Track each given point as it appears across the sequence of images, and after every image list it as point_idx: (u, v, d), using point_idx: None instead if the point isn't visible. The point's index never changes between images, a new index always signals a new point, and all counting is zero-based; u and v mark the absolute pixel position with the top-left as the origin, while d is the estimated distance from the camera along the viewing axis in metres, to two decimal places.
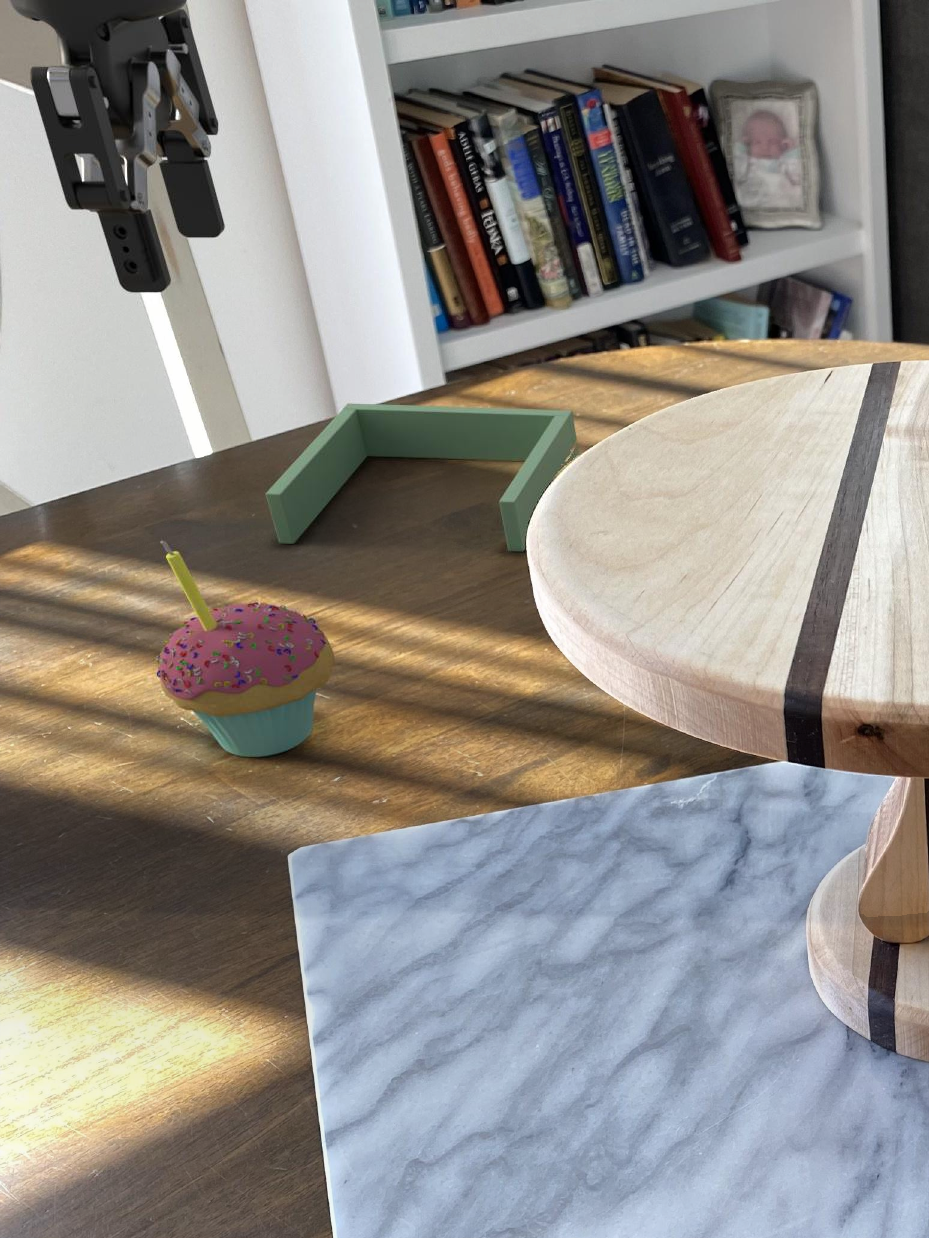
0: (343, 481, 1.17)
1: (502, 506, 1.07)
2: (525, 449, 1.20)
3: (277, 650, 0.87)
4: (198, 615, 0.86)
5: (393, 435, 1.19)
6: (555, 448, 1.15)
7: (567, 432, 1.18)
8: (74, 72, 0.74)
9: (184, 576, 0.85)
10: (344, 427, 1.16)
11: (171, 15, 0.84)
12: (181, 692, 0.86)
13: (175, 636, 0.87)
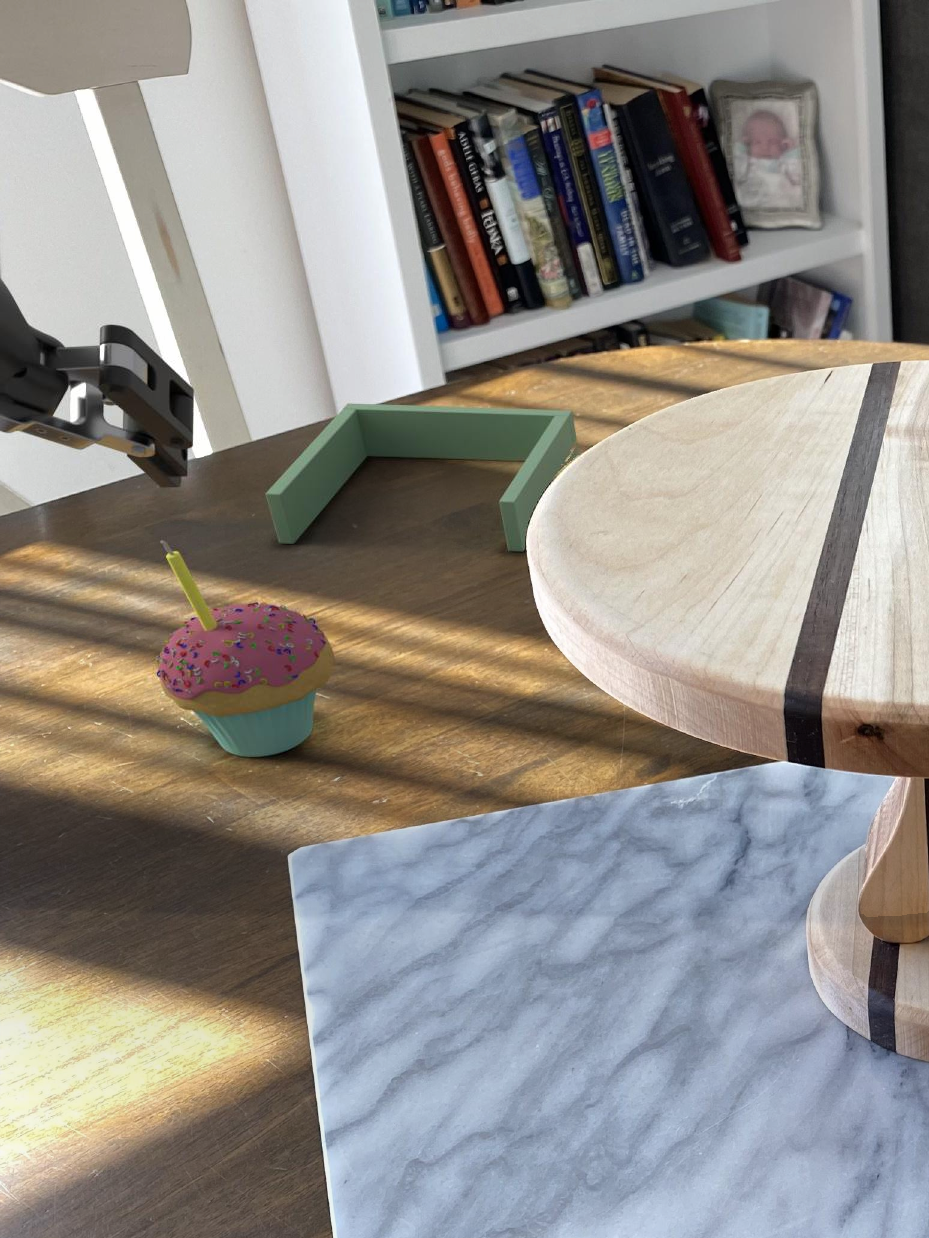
0: (343, 481, 1.17)
1: (502, 506, 1.07)
2: (525, 449, 1.20)
3: (277, 650, 0.87)
4: (198, 615, 0.86)
5: (393, 435, 1.19)
6: (555, 448, 1.15)
7: (567, 432, 1.18)
8: None
9: (184, 576, 0.85)
10: (344, 427, 1.16)
11: (99, 376, 0.64)
12: (181, 692, 0.86)
13: (175, 636, 0.87)
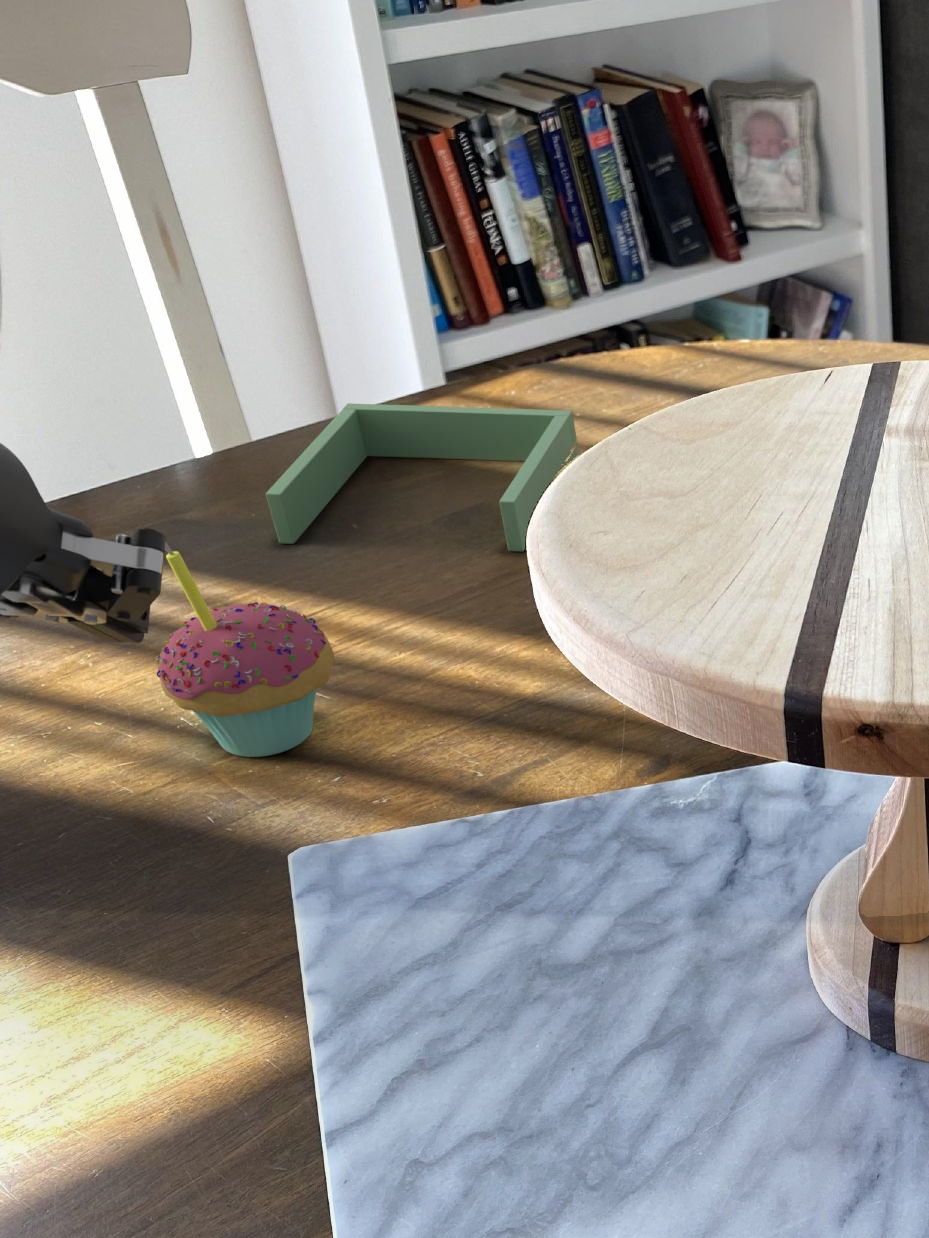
0: (343, 481, 1.17)
1: (502, 506, 1.07)
2: (525, 449, 1.20)
3: (277, 650, 0.87)
4: (198, 615, 0.86)
5: (393, 435, 1.19)
6: (555, 448, 1.15)
7: (567, 432, 1.18)
8: None
9: (184, 576, 0.85)
10: (344, 427, 1.16)
11: (135, 576, 0.68)
12: (181, 692, 0.86)
13: (175, 636, 0.87)
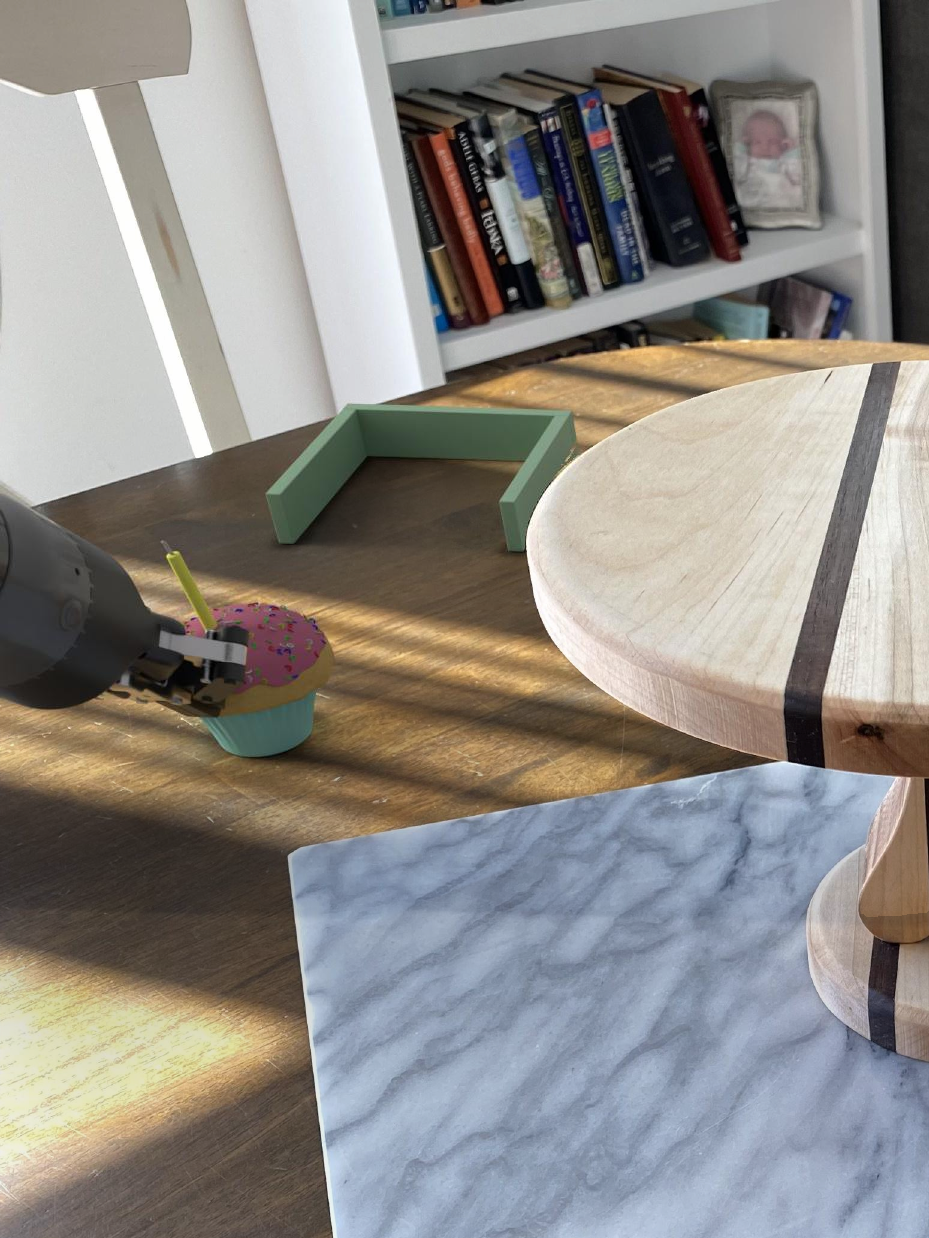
0: (343, 481, 1.17)
1: (502, 506, 1.07)
2: (525, 449, 1.20)
3: (278, 650, 0.87)
4: (198, 615, 0.86)
5: (393, 435, 1.19)
6: (555, 448, 1.15)
7: (567, 432, 1.18)
8: None
9: (184, 576, 0.85)
10: (344, 427, 1.16)
11: (222, 669, 0.76)
12: None
13: None
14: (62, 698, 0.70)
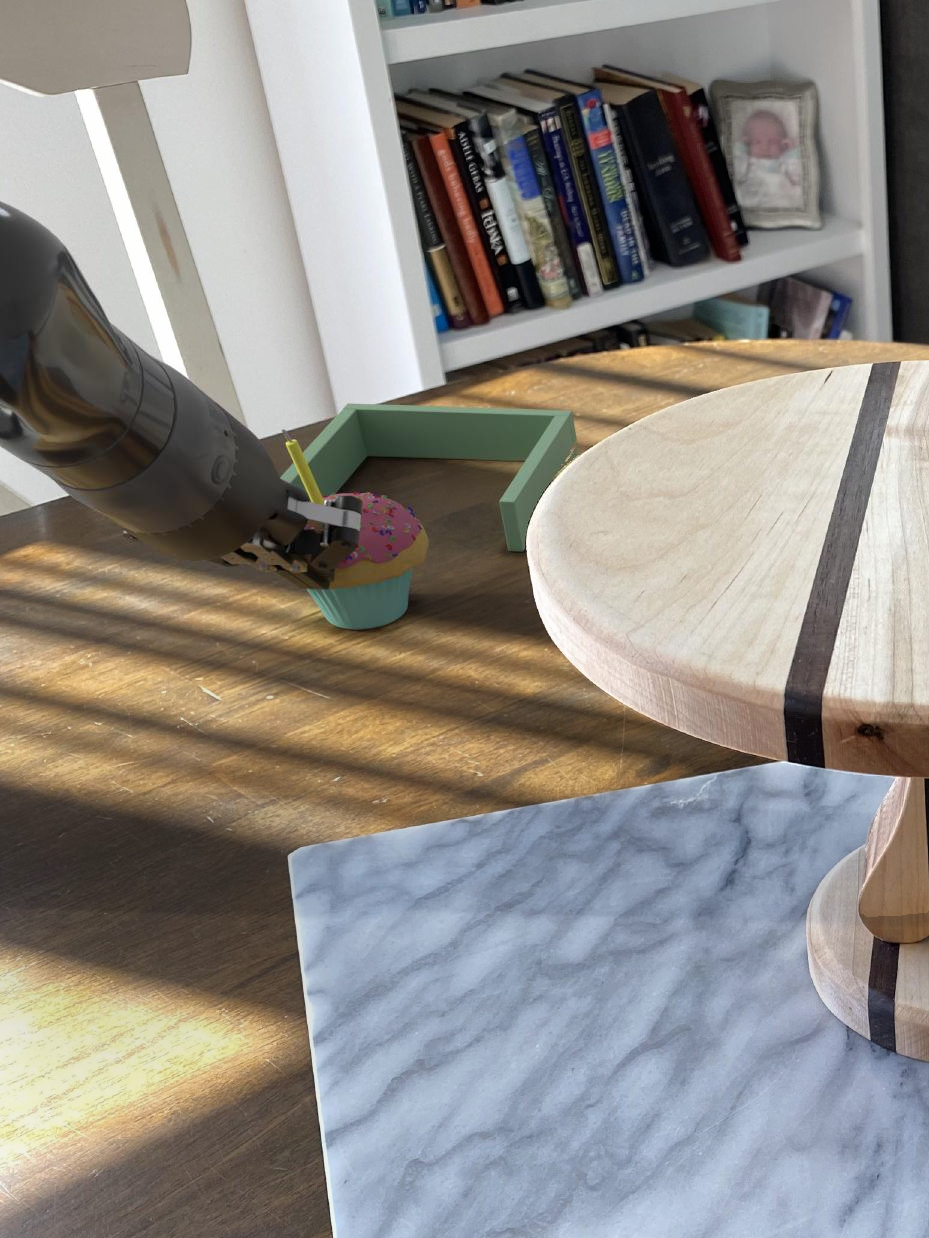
0: (343, 481, 1.17)
1: (502, 506, 1.07)
2: (525, 449, 1.20)
3: (380, 531, 0.98)
4: (311, 498, 0.97)
5: (393, 435, 1.19)
6: (555, 448, 1.15)
7: (567, 432, 1.18)
8: None
9: (300, 462, 0.95)
10: (344, 427, 1.16)
11: (340, 533, 0.87)
12: None
13: None
14: (207, 548, 0.81)
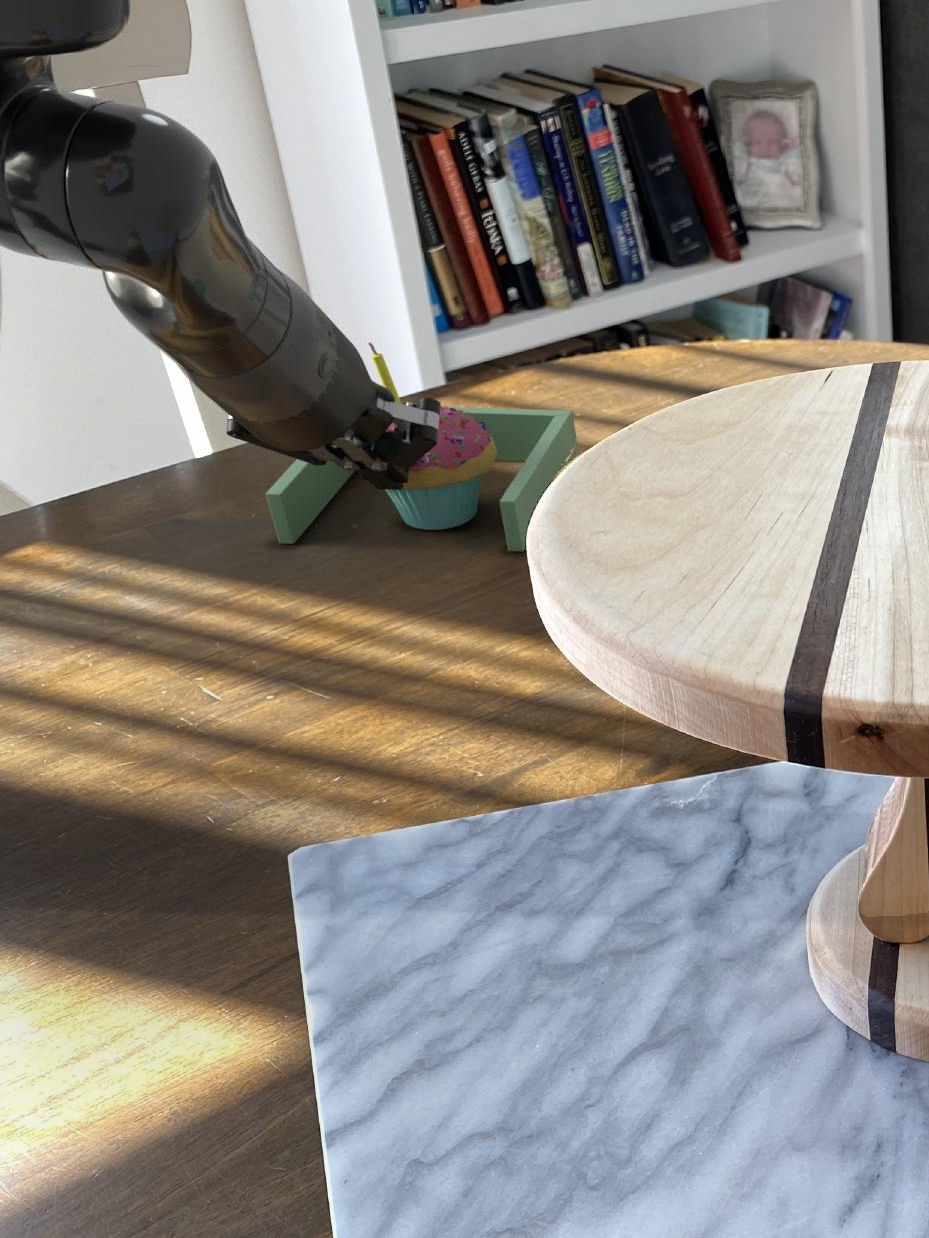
0: (343, 481, 1.17)
1: (502, 506, 1.07)
2: (525, 449, 1.20)
3: (451, 440, 1.08)
4: None
5: None
6: (555, 448, 1.15)
7: (567, 432, 1.18)
8: None
9: (384, 373, 1.06)
10: None
11: (421, 430, 0.97)
12: None
13: None
14: (309, 438, 0.92)
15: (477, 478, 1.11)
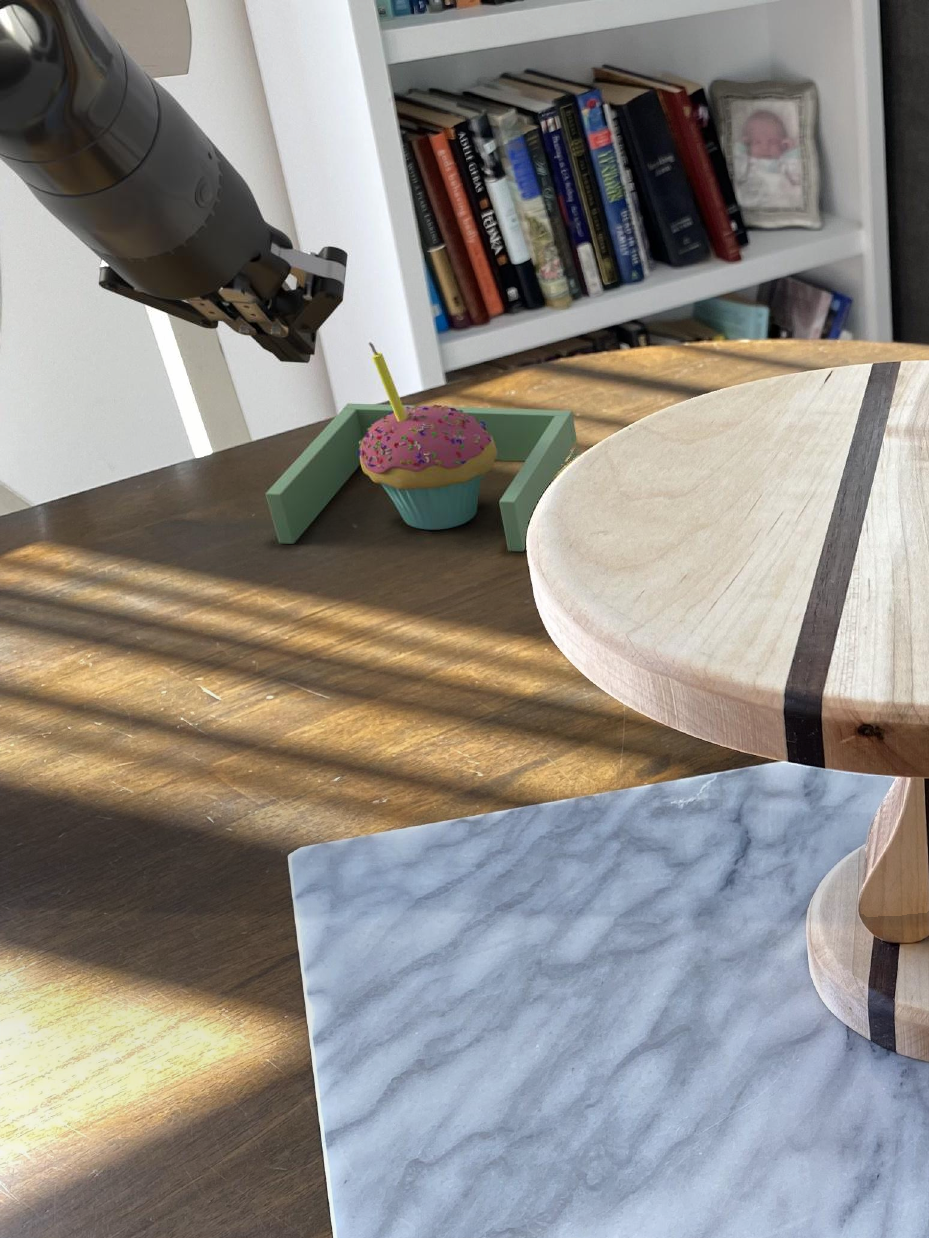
0: (343, 481, 1.17)
1: (502, 506, 1.07)
2: (525, 449, 1.20)
3: (451, 440, 1.08)
4: (393, 407, 1.08)
5: None
6: (555, 448, 1.15)
7: (567, 432, 1.18)
8: None
9: (384, 373, 1.06)
10: (344, 427, 1.16)
11: (324, 284, 0.85)
12: (374, 467, 1.07)
13: (375, 425, 1.09)
14: (189, 283, 0.79)
15: (477, 478, 1.11)
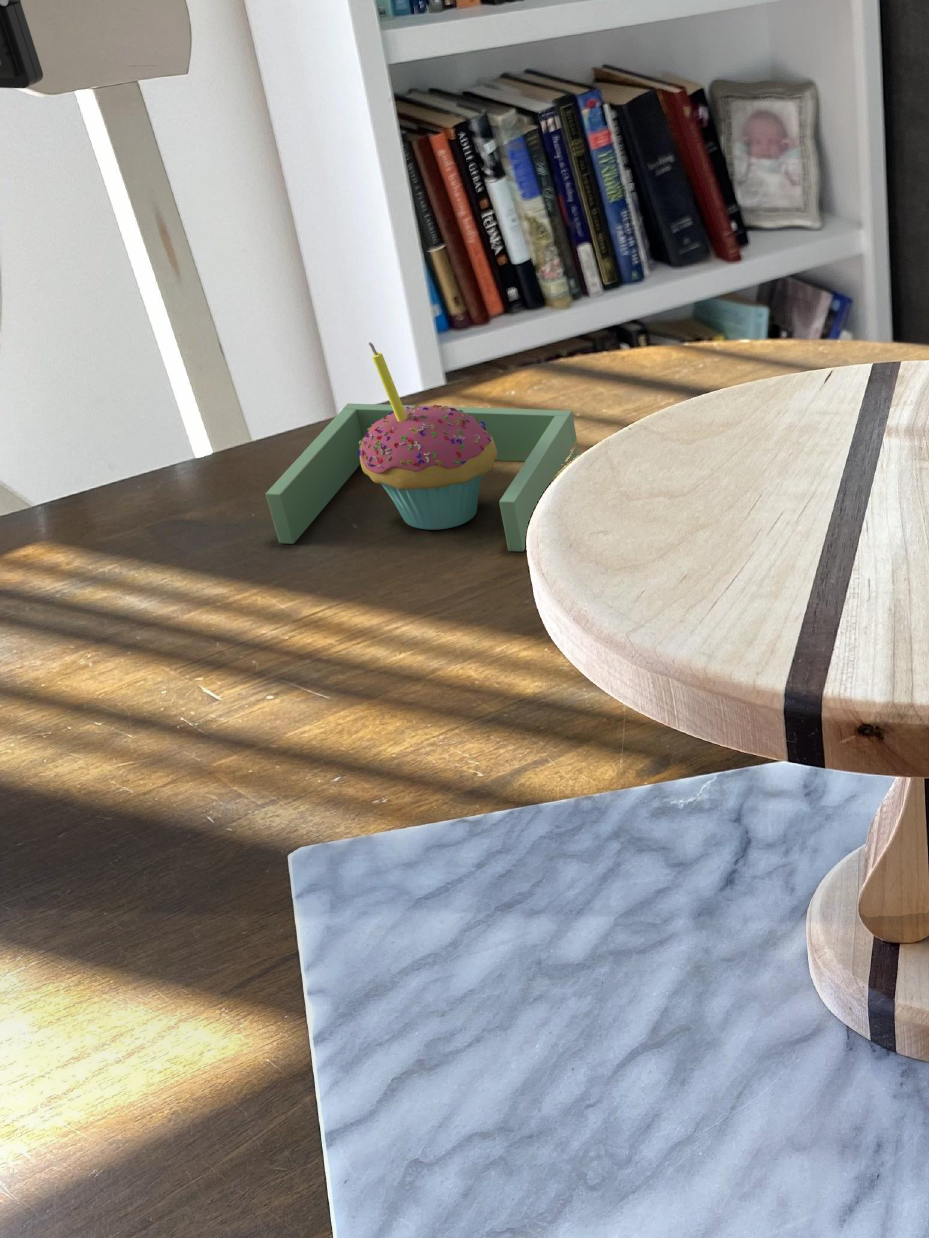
0: (343, 481, 1.17)
1: (502, 506, 1.07)
2: (525, 449, 1.20)
3: (451, 440, 1.08)
4: (393, 407, 1.08)
5: None
6: (555, 448, 1.15)
7: (567, 432, 1.18)
8: None
9: (384, 373, 1.06)
10: (344, 427, 1.16)
11: None
12: (374, 467, 1.07)
13: (375, 425, 1.09)
14: None
15: (477, 478, 1.11)
